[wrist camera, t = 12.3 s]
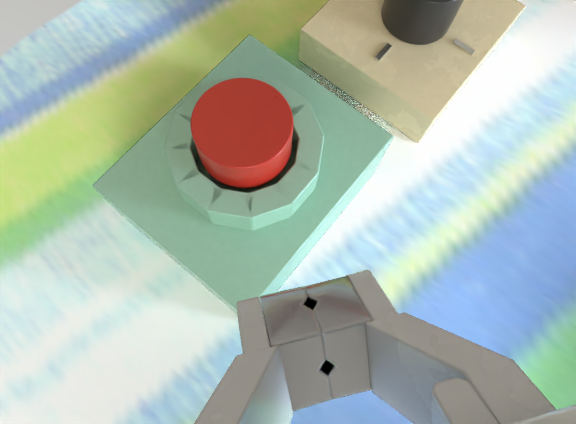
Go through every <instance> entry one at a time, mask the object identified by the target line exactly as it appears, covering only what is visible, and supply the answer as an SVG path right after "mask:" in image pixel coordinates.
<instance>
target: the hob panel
mask: <svg viewBox="0 0 576 424" xmlns="http://www.w3.org/2000/svg"><path fill="white" fill-rule="evenodd" d="M383 3H384V0H329V1H328V2H327V3H326V4H325V5H324V6H323V7H322V8H321V9H320V10H319V11H318V12H317V13H316V14H315V15H314V16H313V17H312V18H311V19H310V20H309V21H308V22H307V23H306V24H305V25H304V26H303V27H302V28H301V29H300V41H299V53H298V60H300V61H301V62H303V63H304V64H305V65H307V66H308V67H310V68H311V69H313V70H314V71H315V72H317V73H318V74H320V75H321V76H323V77H324V78H325V79H327V80H328V81H330V82H331V83H333V84H334V85H335V86H337V87H338V88H340V89H341V90H342V91H344V92H345V93H347V94H348V95H350V96H351V97H352V98H354V99H355V100H357V101H358V102H360V103H361V104H362V105H364V106H365V107H367V108H368V109H369V110H371V111H372V112H374V113H375V114H377V115H378V116H379V117H381V118H382V119H384V120H385V121H387V122H388V123H389V124H391V125H392V126H394V127H395V128H397V129H398V130H399V131H401V132H402V133H404V134H405V135H406V136H408V137H409V138H411V139H412V140H414V141H415V142H416V143H419V142H420V141H421V140H422V138H423V137H424V136H425V135H426V133H427V132H428V131H429V130H430V128H431V127H432V126H433V125H434V123H435V122H436V121H437V120H438V118H439V117H440V116H441V115H442V113H443V112H444V111H445V110H446V109H447V107H448V106H449V105H450V104H451V102H452V101H453V100H454V99H455V97H456V96H457V95H458V94H459V92H460V91H461V90H462V89H463V87H464V86H465V85H466V84H467V82H468V81H469V80H470V79H471V77H472V76H473V75H474V74H475V72H476V71H477V70H478V69H479V67H480V66H481V65H482V64H483V62H484V61H485V60H486V59H487V58H488V56H489V55H490V54H491V53H492V51H493V50H494V49H495V48H496V46H497V45H498V44H499V43H500V41H501V40H502V39H503V38H504V36H505V35H506V33H507V32H508V31H509V29H510V28H511V26H512V25H513V24H514V22H515V21H516V19H517V18H518V17H519V15H520V14H521V12H522V11H523V10H524V8H525V5H524V4H522V3H520V2H519V1H517V0H464V1H463V3H462V5H461V7H460V8H459V10H458V12H457V14H456V16H455V18H454V20H453V22H452V24H451V25H450V27H449V29H448V31H447V33H446V34H445V35H444V36H443V37H442V38H440V39H439V40H437V41H435V42H433V43H430V44H425V45H415V44H409V43H406V42H403V41H401V40H399V39H397V38H396V37H394V36H393V35H392V34H391V33H390V32H389V31H388V30H387V28H386V27H385V25H384V23H383V20H382V14H381V12H382V6H383Z"/></svg>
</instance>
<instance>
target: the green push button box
mask: <svg viewBox="0 0 576 424" xmlns="http://www.w3.org/2000/svg"><path fill="white" fill-rule="evenodd" d="M234 78H252V79H257V80H260V81H263V82H265V83H267V84H269V85H271V86H273V87H274V88H275V89H277V90H278V91H279V92H280V93H281V94H282V95H283V96H284V98H285V99H286V100H287V102H288V104H289V106H290V108H291V111H292V115H293V136H292V147H291V154H290V158H289V160H288V163H287V165H286V166H285V168H284V169H283V171H282V172H281V173H280V174H279V175H278V176H277V177H276V178H274V179H273V180H271V181H270V182H268V183H266V184H263V185H261V186H257V187H253V188H236V187H231V186H228V185H225V184H223V183H221V182H219V181H218V180H216V179H215V178H213V177H212V176H211V175H210V174H209V173H208V171H207V170H206V169H205V167H204V166H203V164H202V161H201V159H200V156H199V154H198V151H197V148H196V145H195V143H194V140H193V137H192V133H191V116H192V112H193V109H194V107H195V105H196V103H197V101H198V100H199V98H200V97H201V96H202V95H203V94H204V93H205V92H206V91H207V90H208V89H209V88H211V87H212V86H214V85H216V84H218V83H220V82H222V81H225V80H229V79H234ZM392 138H393V135H391V134H390V133H388V132H387V131H386V130H384V129H383V128H381V127H380V126H379V125H377V124H376V123H374V122H373V121H371V120H370V119H369V118H367V117H366V116H364V115H363V114H362V113H360V112H359V111H357V110H356V109H355V108H353V107H352V106H350V105H349V104H347V103H346V102H345V101H343V100H342V99H340V98H339V97H338V96H336V95H335V94H333V93H332V92H331V91H329V90H328V89H326V88H325V87H323V86H322V85H321V84H319V83H318V82H316V81H315V80H314V79H312V78H311V77H309V76H308V75H306V74H305V73H304V72H302V71H301V70H299V69H298V68H297V67H295V66H294V65H292V64H291V63H290V62H288V61H287V60H285V59H284V58H282V57H281V56H280V55H278V54H277V53H275V52H274V51H273V50H271V49H270V48H268V47H267V46H266V45H264V44H263V43H261V42H260V41H258V40H257V39H256V38H254V37H253V36H251V35H248V36H247V37H246V38H245V39H244V40H243V41H242V42H241V43H240V44H239V45H238V46H237V47H236V48H235V49H234V50H233V51H232V52H231V53H229V54H228V55H227V56H226V57H225V58H224V59H223V60H222V61H221V62H220V63H219V64H218V65H217V66H216V67H215V68H214V69H213V70H212V71H211V72H210V73H209V74H208V75H207V76H206V77H204V78H203V79H202V80H201V81H200V82H199V83H198V84H197V85H196V86H195V87H194V88H193V89H192V90H191V91H190V92H189V93H188V94H187V95H186V96H185V97H184V98H183V99H182V100H181V101H179V102H178V103H177V104H176V105H175V106H174V107H173V108H172V109H171V110H170V111H169V112H168V113H167V114H166V115H165V116H164V117H163V118H162V119H161V120H160V121H159V122H158V123H157V124H156V125H154V126H153V127H152V128H151V129H150V130H149V131H148V132H147V133H146V134H145V135H144V136H143V137H142V138H141V139H140V140H139V141H138V142H137V143H136V144H135V145H134V146H133V147H132V148H131V149H129V150H128V151H127V152H126V153H125V154H124V155H123V156H122V157H121V158H120V159H119V160H118V161H117V162H116V163H115V164H114V165H113V166H112V167H111V168H110V169H109V170H108V171H107V172H106V173H104V174H103V175H102V176H101V177H100V178H99V179H98V180H97V181H96V182H95V183H94V184H93V185H92V186H93V188H94V189H95V190H96V191H97V192H98V193H99V194H100V195H101V196H102V197H104V198H105V199H106V200H107V201H108V202H109V203H110V204H111V205H112V206H113V207H114V208H115V209H116V210H117V211H118V212H119V213H120V214H121V215H122V216H123V217H125V218H126V219H127V220H128V221H129V222H130V223H132V224H133V225H134V226H135V227H136V228H137V229H139V230H140V231H141V232H142V233H143V234H144V235H146V236H147V237H148V238H149V239H150V240H151V241H153V242H154V243H155V244H156V245H157V246H158V247H160V248H161V249H162V250H163V251H164V252H165V253H167V254H168V255H169V256H170V257H171V258H172V259H174V260H175V261H176V262H177V263H178V264H179V265H181V266H182V267H183V268H184V269H185V270H186V271H188V272H189V273H190V274H191V275H192V276H193V277H195V278H196V279H197V280H198V281H199V282H200V283H202V284H203V285H204V286H205V287H206V288H207V289H209V290H210V291H211V292H212V293H213V294H214V295H216V296H217V297H218V298H219V299H220V300H221V301H223V302H224V303H225V304H226V305H227V306H228V307H230V308H231V309H232V310H233V311H234V312H236V313H237V308H236V303H237V301H241V300H245V299H250V298H254V297H259V298H260V296H262V295H267V294H271V293H276V292H277V291H278V289H279V288H280V287H281V286H282V285H283V283H284V282H285V281H286V280H287V278H288V277H289V276H290V275H291V274H292V272H293V271H294V270H295V269H296V268H297V266H298V265H299V264H300V263H301V261H302V260H303V259H304V258H305V257H306V255H307V254H308V253H309V252H310V250H311V249H312V248H313V247H314V246H315V244H316V243H317V242H318V241H319V239H320V238H321V237H322V236H323V235H324V233H325V232H326V231H327V230H328V229H329V227H330V226H331V225H332V224H333V222H334V221H335V220H336V219H337V218H338V216H339V215H340V214H341V213H342V211H343V210H344V209H345V208H346V207H347V205H348V204H349V203H350V202H351V201H352V199H353V198H354V197H355V196H356V194H357V193H358V192H359V191H360V190H361V188H362V187H363V186H364V185H365V183H366V182H367V181H368V180H369V179H370V177H371V176H372V175H373V174H374V172H375V170H376V168H377V166H378V164H379V163H380V161H381V159H382V157H383V155H384V153H385V151H386V150H387V148H388V146H389V144H390V142H391V140H392ZM260 302H261V300H260ZM261 306H262V305H261Z"/></svg>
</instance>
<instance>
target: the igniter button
mask: <svg viewBox="0 0 576 424" xmlns="http://www.w3.org/2000/svg"><path fill="white" fill-rule="evenodd" d="M191 133H192V137H193V140H194V143H195V145H196V148H197V151H198V154H199V156H200V159H201V161H202V164H203V166H204V167H205V169H206V170H207V171H208V173H209V174H210V175H211V176H212V177H213V178H215V179H216V180H218V181H219V182H221V183H223V184H225V185H228V186H231V187H236V188H253V187H257V186H261V185H263V184H266V183H268V182H270V181H271V180H273V179H274V178H276V177H277V176H278V175H279V174H280V173H281V172H282V171H283V169H284V168H285V166H286V165H287V163H288V160H289V158H290V154H291V147H292V136H293V115H292V111H291V108H290V106H289V104H288V102H287V100H286V99H285V98H284V96H283V95H282V94H281V93H280V92H279V91H278V90H277V89H275V88H274V87H273V86H271V85H269V84H267V83H265V82H263V81H260V80H257V79H252V78H234V79H229V80H225V81H222V82H220V83H218V84H216V85H214V86H212V87H211V88H209V89H208V90H207V91H206V92H205V93H204V94H203V95H202V96H201V97H200V98H199V100H198V101H197V103H196V105H195V107H194V109H193V112H192V116H191Z"/></svg>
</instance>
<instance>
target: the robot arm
mask: <svg viewBox="0 0 576 424" xmlns="http://www.w3.org/2000/svg"><path fill="white" fill-rule="evenodd" d="M260 300H261V302H260ZM261 305H262V306H261ZM236 308H237V315H238V322H239V329H240V336H241V343H242V350H243V354H241V355H237V356H236V357H235V359H234V360H233V362H232V363H231V365H230V367H229V368H228V370H227V371H226V373H225V375H224V376H223V378H222V379H221V381H220V383H219V384H218V386H217V387H216V389H215V391H214V392H213V394H212V396H211V397H210V399H209V400H208V402H207V404H206V405H205V407H204V408H203V410H202V412H201V413H200V415H199V416H198V418H197V420H196V421H195V423H194V424H290V422H291V419H292V416H293V411H296V410H299V409H302V408H306V407H309V406H312V405H316V404H319V403H322V402H325V401H329V400H332V399H336V398H340V397H345V396H349V395H353V394H357V393H361V392H365V391H369V390H372V392H373V393H374V394H375V395H377V396H378V397H379V398H381V399H382V400H383V401H384V402H386V403H387V404H388V405H390V406H391V407H392V408H394V409H395V410H396V411H398V412H399V413H400V414H401V415H403V416H404V417H405V418H407V419H408V420H409V421H411V422H412V423H413V424H576V405H572V406H569V407H565V408H562V409H558V410H556V409H555V407H554V406H553V405H552V404H551V403H550V402H549V401H548V399H547V398H546V397H545V396H544V395H543V394H542V393H541V391H540V390H539V389H538V388H537V387H536V386H535V385H534V383H533V382H532V381H531V380H530V379H529V378H528V377H527V375H526V374H525V373H524V372H523V371H522V370H521V369H520V367H519V366H518V365H517V364H516V363H515V362H514V361H513V360H512V359H510V358H507V357H505V356H503V355H500V354H498V353H496V352H494V351H491V350H489V349H487V348H485V347H482V346H480V345H478V344H475V343H473V342H471V341H469V340H466V339H464V338H462V337H459V336H457V335H455V334H453V333H450V332H448V331H446V330H444V329H441V328H439V327H437V326H434V325H432V324H430V323H428V322H425V321H423V320H421V319H419V318H416V317H414V316H412V315H409V314H407V313H401V314H398V313H397V311H396V310H395V308H394V307H393V305H392V303H391V302H390V300H389V299H388V297H387V296H386V294H385V293H384V291H383V290H382V288H381V287H380V285H379V284H378V282H377V281H376V279H375V277H374V276H373V274H372V273H371V271H369V270H364V271H360V272H356V273H353V274H349V275H346V276H345V277H340V278H336V279H332V280H328V281H324V282H320V283H316V284H312V285H308V286H303V287H298V288H294V289H289V290H285V291H280V292H276V293H271V294H267V295H262V296H260V298H259V297H254V298H250V299H245V300H241V301H237V303H236ZM262 309H263V311H262ZM263 314H264V315H263ZM264 318H265V319H264ZM266 327H267V328H266Z"/></svg>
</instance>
